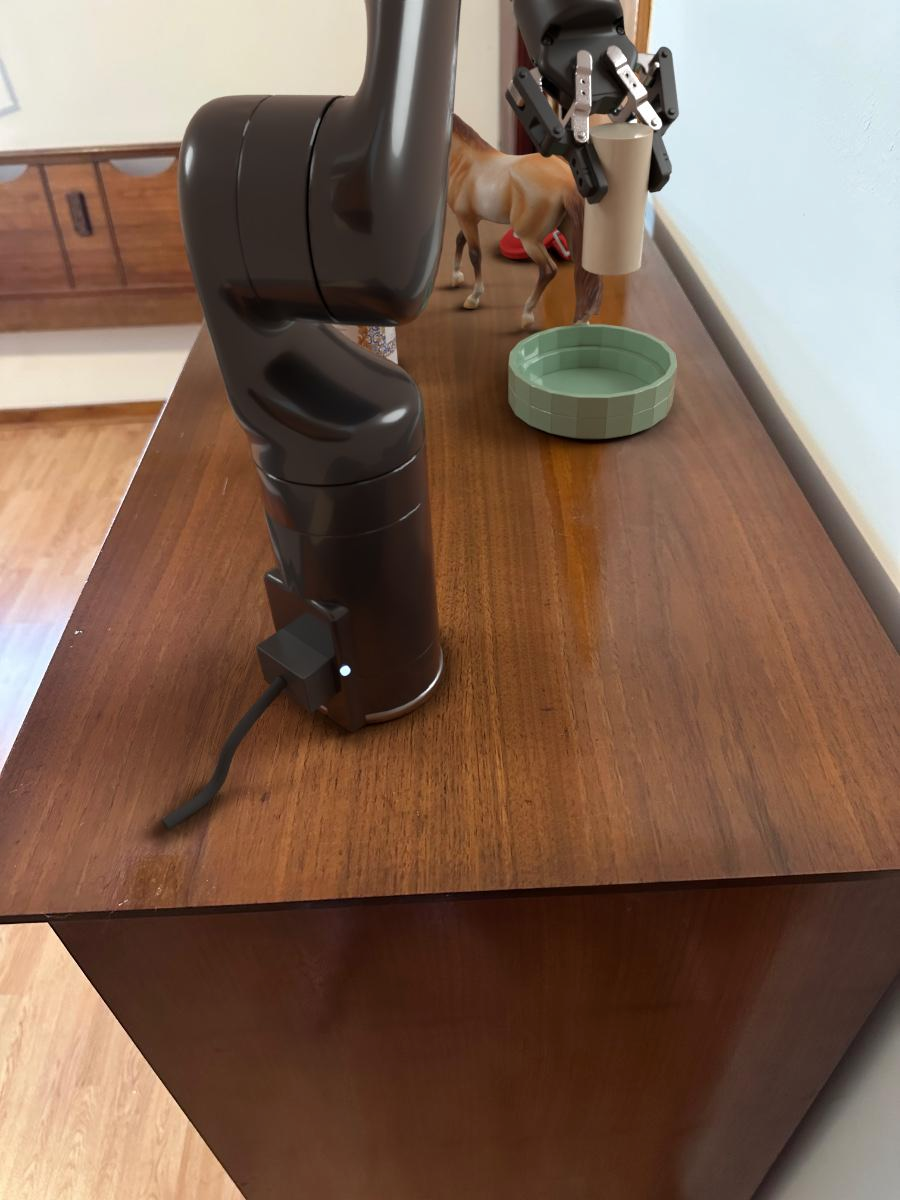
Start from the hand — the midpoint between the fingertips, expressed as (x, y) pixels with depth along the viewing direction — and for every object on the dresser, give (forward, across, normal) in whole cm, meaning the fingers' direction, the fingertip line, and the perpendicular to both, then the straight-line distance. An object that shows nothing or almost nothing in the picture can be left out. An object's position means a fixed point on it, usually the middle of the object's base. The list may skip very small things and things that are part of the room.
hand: (630, 191), depth 67 cm
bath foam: (-1, -16, +30) cm, 34 cm away
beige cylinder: (+3, 0, +6) cm, 6 cm away
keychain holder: (-17, +17, +44) cm, 50 cm away
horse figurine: (-4, +1, +33) cm, 33 cm away
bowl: (+11, +1, +18) cm, 21 cm away
